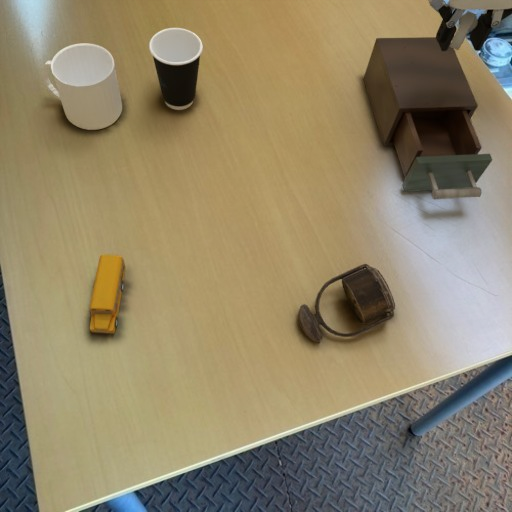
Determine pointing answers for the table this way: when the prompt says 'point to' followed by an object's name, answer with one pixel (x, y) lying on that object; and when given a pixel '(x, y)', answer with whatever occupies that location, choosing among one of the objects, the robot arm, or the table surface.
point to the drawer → (440, 153)
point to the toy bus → (107, 294)
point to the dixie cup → (176, 65)
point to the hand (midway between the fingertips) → (458, 43)
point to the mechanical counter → (354, 301)
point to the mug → (85, 85)
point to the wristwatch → (464, 29)
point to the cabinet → (414, 81)
